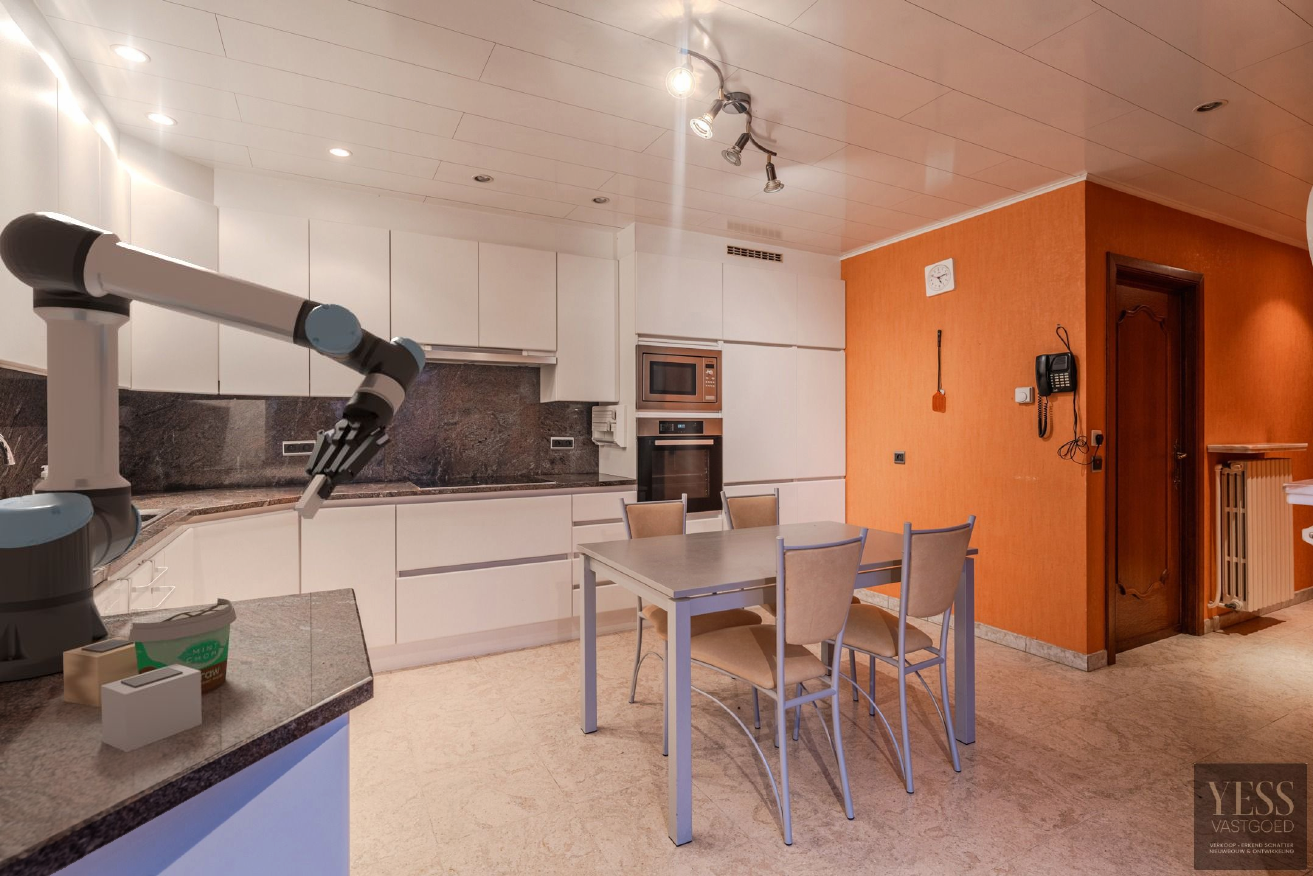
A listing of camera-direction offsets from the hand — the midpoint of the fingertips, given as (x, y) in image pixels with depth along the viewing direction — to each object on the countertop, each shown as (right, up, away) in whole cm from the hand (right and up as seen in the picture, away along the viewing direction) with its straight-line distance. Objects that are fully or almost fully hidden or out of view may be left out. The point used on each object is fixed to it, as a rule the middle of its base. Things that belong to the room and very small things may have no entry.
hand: (303, 513), depth 97 cm
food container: (-4, -21, -16) cm, 26 cm away
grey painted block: (-1, -21, -27) cm, 34 cm away
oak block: (-15, -21, -17) cm, 31 cm away
